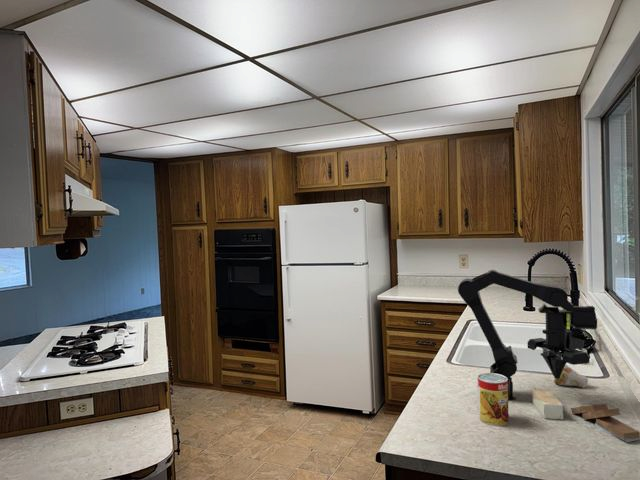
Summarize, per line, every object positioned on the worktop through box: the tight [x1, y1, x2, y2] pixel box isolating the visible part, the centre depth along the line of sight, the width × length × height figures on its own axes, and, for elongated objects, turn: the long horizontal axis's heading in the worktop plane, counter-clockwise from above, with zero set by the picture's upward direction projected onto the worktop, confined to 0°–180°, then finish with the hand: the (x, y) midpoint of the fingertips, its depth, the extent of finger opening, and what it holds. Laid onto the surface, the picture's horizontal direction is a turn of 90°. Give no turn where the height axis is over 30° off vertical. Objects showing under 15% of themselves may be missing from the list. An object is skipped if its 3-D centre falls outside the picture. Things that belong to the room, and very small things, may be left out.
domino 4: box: [594, 422, 640, 443], centre depth 113 cm, size 2×4×9 cm
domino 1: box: [570, 403, 609, 415], centre depth 121 cm, size 2×4×9 cm
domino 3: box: [595, 416, 640, 441], centre depth 112 cm, size 2×4×9 cm
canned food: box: [477, 372, 510, 427], centre depth 122 cm, size 8×8×12 cm
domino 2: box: [581, 408, 621, 420], centre depth 117 cm, size 2×4×9 cm
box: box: [532, 389, 564, 420], centre depth 126 cm, size 5×4×11 cm
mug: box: [553, 364, 589, 389], centre depth 146 cm, size 8×10×10 cm
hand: (557, 378), depth 132 cm, fingers closed
